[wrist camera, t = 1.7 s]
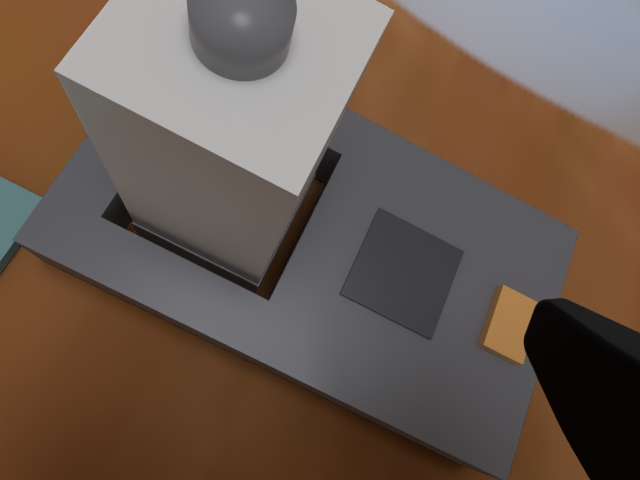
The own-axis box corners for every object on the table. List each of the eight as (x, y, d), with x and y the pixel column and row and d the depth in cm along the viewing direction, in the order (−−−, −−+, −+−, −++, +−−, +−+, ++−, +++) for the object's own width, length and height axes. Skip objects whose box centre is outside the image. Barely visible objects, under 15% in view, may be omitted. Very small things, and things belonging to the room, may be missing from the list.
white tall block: (254, 293, 20) (308, 179, 8) (138, 235, 19) (29, 35, 8) (308, 188, 21) (414, -25, 10) (202, 133, 21) (186, -151, 10)
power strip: (464, 466, 20) (514, 484, 16) (43, 260, 18) (6, 236, 15) (533, 249, 23) (586, 228, 19) (178, 63, 22) (172, 7, 18)
